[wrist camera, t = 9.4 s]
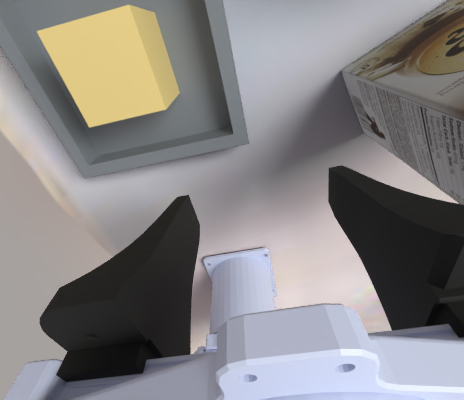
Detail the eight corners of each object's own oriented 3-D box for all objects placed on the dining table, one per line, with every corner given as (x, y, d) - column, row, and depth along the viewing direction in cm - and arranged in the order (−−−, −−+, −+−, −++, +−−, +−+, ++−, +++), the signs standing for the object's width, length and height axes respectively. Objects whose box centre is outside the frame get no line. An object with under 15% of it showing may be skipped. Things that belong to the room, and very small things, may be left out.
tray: (246, 131, 21) (249, 143, 19) (99, 163, 23) (84, 178, 20) (201, -111, 14) (196, -141, 11) (-18, -39, 15) (-62, -52, 13)
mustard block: (179, 92, 19) (166, 109, 15) (119, 107, 19) (89, 127, 15) (154, 12, 16) (128, 4, 12) (84, 32, 16) (36, 31, 12)
